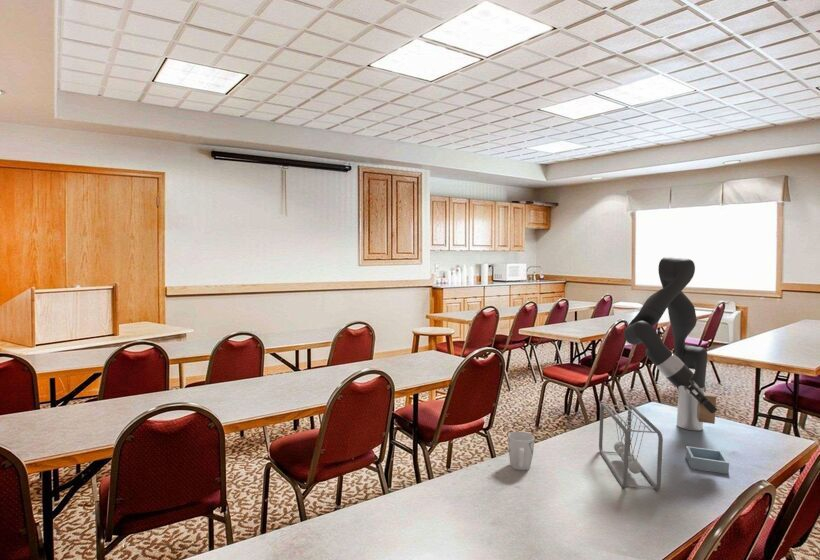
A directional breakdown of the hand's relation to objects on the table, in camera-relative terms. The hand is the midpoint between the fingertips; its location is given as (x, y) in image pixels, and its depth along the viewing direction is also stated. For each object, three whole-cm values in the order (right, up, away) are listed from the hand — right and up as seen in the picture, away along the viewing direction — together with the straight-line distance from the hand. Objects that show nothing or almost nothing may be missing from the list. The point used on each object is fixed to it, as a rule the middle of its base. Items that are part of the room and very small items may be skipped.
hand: (712, 409), depth 163 cm
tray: (-2, -19, 0) cm, 19 cm away
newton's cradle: (-31, -19, -5) cm, 36 cm away
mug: (-65, -18, -5) cm, 68 cm away
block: (-2, -4, +1) cm, 5 cm away
